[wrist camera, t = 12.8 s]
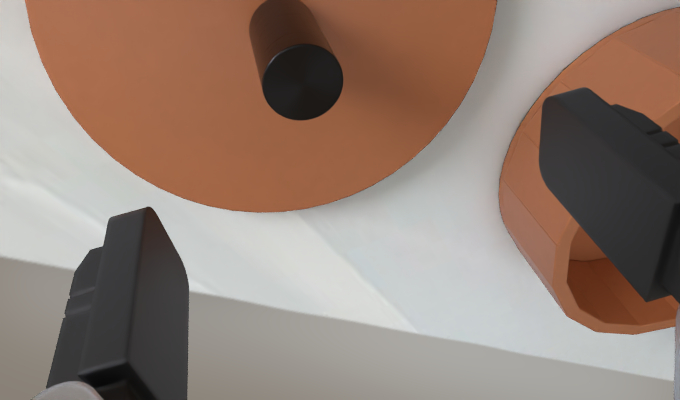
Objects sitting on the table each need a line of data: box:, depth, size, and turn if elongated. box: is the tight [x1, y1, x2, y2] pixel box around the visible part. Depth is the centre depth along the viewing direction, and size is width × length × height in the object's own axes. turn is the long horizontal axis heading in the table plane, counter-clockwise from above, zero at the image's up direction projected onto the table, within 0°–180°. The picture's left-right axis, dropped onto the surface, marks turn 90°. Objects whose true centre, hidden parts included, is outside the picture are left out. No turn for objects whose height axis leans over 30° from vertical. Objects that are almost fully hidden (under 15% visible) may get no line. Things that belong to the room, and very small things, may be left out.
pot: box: [499, 7, 680, 335], centre depth 26 cm, size 15×16×6 cm
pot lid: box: [25, 0, 497, 213], centre depth 18 cm, size 16×16×6 cm
